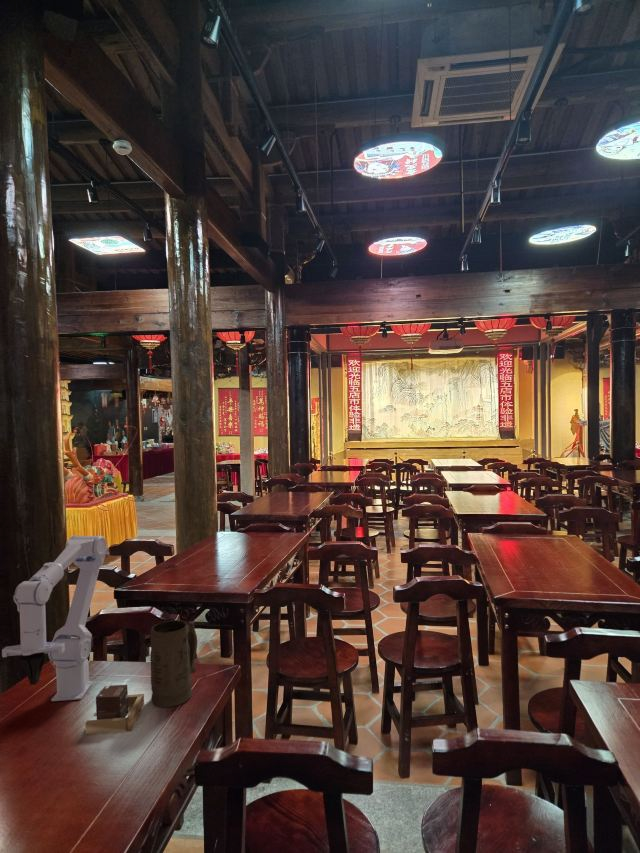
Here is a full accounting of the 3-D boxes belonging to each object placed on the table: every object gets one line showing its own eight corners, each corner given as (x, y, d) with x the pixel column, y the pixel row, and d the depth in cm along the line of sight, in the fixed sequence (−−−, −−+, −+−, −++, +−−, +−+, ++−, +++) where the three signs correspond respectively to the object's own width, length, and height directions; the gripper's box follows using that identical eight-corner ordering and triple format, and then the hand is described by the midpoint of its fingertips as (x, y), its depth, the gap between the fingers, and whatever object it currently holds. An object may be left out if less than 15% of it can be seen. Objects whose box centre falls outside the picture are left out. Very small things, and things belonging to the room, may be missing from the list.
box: (120, 725, 131) (119, 696, 131) (96, 726, 131) (94, 697, 131) (129, 712, 137) (128, 684, 137) (106, 713, 137) (104, 685, 137)
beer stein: (174, 712, 136) (175, 633, 137) (141, 705, 140) (141, 628, 141) (207, 687, 151) (207, 616, 152) (175, 682, 154) (176, 612, 155)
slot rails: (103, 707, 140) (102, 696, 140) (144, 704, 141) (143, 693, 141) (85, 734, 127) (85, 723, 127) (130, 731, 128) (130, 719, 128)
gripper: (-6, 636, 129) (-4, 692, 129) (56, 633, 130) (57, 688, 130) (9, 626, 136) (11, 679, 136) (67, 622, 137) (69, 675, 137)
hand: (34, 682), depth 133 cm, fingers closed
